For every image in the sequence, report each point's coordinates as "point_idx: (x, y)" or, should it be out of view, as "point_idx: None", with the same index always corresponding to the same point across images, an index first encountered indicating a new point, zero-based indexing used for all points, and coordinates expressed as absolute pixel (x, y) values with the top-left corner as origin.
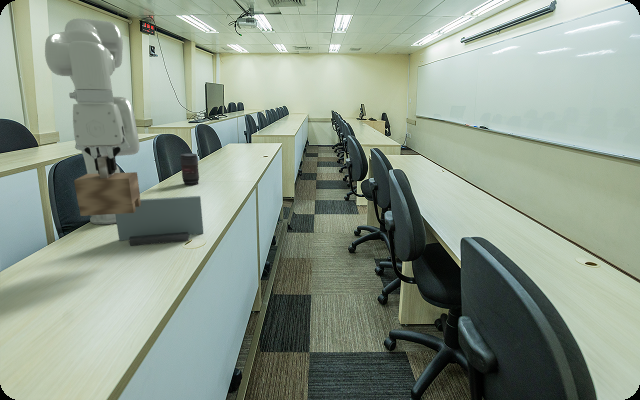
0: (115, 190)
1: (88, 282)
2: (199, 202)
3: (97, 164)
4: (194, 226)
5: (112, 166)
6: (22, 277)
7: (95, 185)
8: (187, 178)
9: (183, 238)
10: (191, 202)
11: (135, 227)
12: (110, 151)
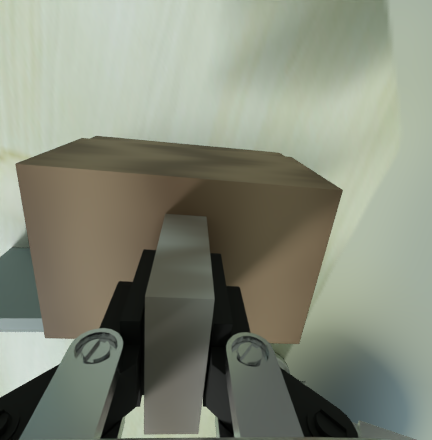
0: (130, 157)
1: (227, 9)
2: None
3: (223, 291)
4: (21, 259)
5: (126, 293)
6: (368, 97)
7: (226, 171)
8: None
9: None
10: None
11: None
12: (72, 393)
